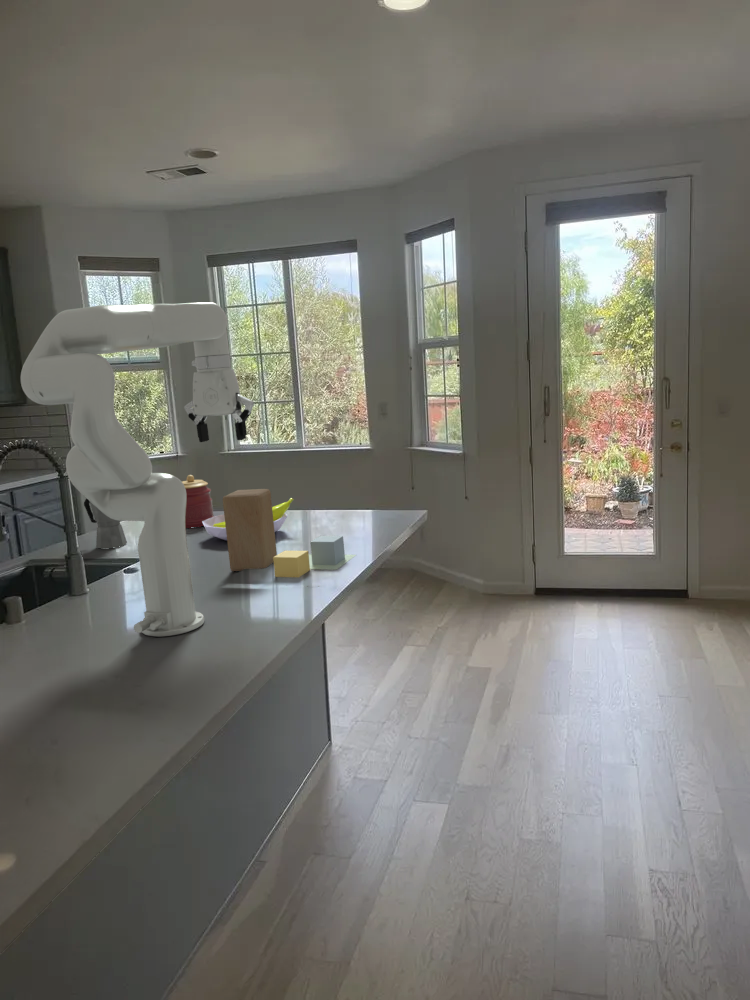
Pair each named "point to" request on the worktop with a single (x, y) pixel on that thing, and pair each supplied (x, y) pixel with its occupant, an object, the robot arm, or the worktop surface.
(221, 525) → the fruit bowl
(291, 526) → the worktop surface
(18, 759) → the worktop surface
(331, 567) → the plate
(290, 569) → the ochre brick
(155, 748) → the worktop surface
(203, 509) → the canister
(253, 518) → the block
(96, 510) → the coffeepot
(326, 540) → the slate brick
